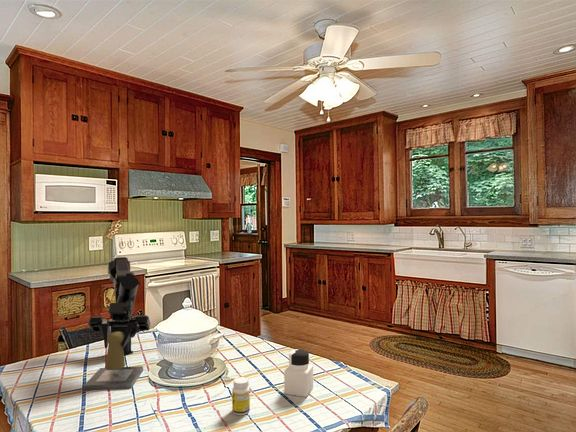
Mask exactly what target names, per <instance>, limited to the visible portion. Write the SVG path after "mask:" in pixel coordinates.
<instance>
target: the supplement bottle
mask: <svg viewBox="0 0 576 432" xmlns="http://www.w3.org/2000/svg"><path fill="white" fill-rule="evenodd" d="M249 384H250V383H249V379H248V378H247V377H243V376H242V377H241V376H240V377H237V378H235V379H233V387H232V388H231V389H232V390H231V392H232V394H231V396H232V397H231V399H232V401H231V403H232V405H231V406H232V407H231V408H232V409H231V411H232V413H233V414H234V415H237V416H245V415H247V414H249V413H250V411H251V406H250V405H251V404H250V403H251V402H250V401H251V394H250V393H251V387H250V386H249Z"/></svg>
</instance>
